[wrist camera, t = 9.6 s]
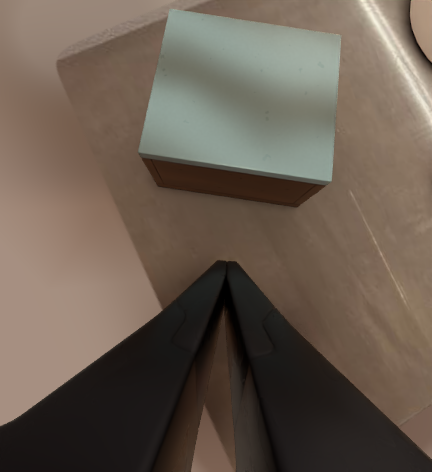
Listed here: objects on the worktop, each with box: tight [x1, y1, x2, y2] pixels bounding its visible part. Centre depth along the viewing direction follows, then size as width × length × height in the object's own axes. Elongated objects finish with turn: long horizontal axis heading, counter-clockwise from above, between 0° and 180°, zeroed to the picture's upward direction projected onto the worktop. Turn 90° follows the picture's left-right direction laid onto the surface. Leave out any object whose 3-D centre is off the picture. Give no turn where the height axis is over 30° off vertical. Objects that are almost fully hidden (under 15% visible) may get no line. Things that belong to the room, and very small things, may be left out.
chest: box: [141, 157, 326, 207], centre depth 21 cm, size 13×15×6 cm
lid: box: [138, 9, 341, 185], centre depth 18 cm, size 13×15×1 cm
